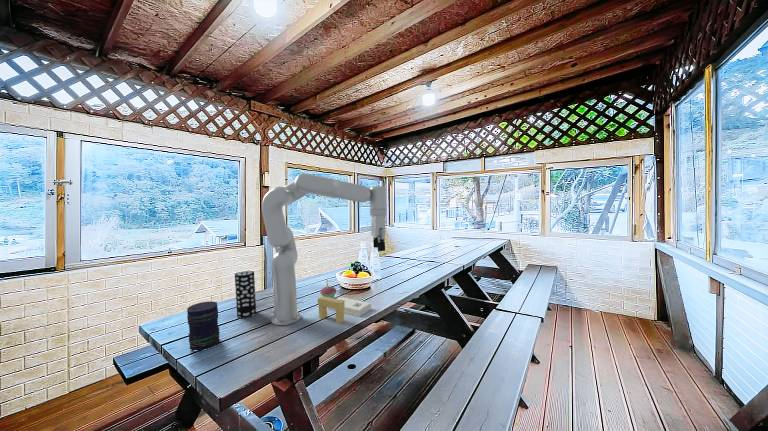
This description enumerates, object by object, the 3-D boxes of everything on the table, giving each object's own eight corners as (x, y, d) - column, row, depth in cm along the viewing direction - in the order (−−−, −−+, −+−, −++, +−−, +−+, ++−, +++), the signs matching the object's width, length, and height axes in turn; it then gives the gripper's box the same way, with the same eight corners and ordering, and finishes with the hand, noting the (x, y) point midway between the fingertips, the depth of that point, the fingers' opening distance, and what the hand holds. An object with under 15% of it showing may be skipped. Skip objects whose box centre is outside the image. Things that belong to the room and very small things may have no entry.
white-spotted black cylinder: (232, 316, 133) (230, 274, 132) (247, 310, 141) (245, 270, 140) (246, 319, 130) (243, 276, 129) (260, 312, 138) (258, 271, 137)
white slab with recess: (327, 309, 140) (327, 303, 139) (340, 302, 148) (340, 296, 148) (359, 316, 130) (358, 310, 130) (371, 309, 138) (370, 303, 138)
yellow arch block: (318, 317, 130) (317, 298, 129) (323, 315, 133) (322, 296, 132) (340, 323, 123) (339, 303, 122) (345, 320, 126) (344, 300, 125)
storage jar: (214, 335, 115) (211, 299, 114) (224, 342, 109) (222, 304, 108) (185, 345, 107) (182, 307, 106) (194, 354, 101) (191, 313, 100)
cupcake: (334, 302, 148) (334, 280, 147) (318, 303, 148) (317, 280, 147) (337, 296, 157) (337, 275, 156) (322, 297, 157) (321, 275, 156)
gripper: (366, 212, 140) (367, 246, 141) (374, 214, 123) (375, 253, 124) (381, 211, 141) (382, 245, 142) (390, 213, 125) (391, 251, 126)
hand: (379, 249), depth 133 cm, fingers open, 9 cm apart
